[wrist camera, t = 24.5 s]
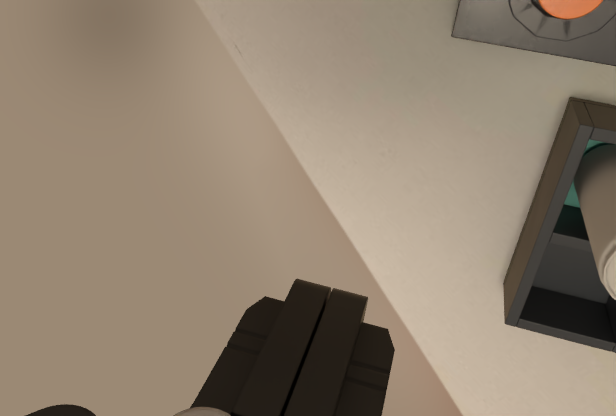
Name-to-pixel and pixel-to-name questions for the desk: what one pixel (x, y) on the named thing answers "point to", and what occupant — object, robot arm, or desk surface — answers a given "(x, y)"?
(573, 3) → the button
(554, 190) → the divided tray
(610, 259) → the beverage can
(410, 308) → the desk surface
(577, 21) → the panel
